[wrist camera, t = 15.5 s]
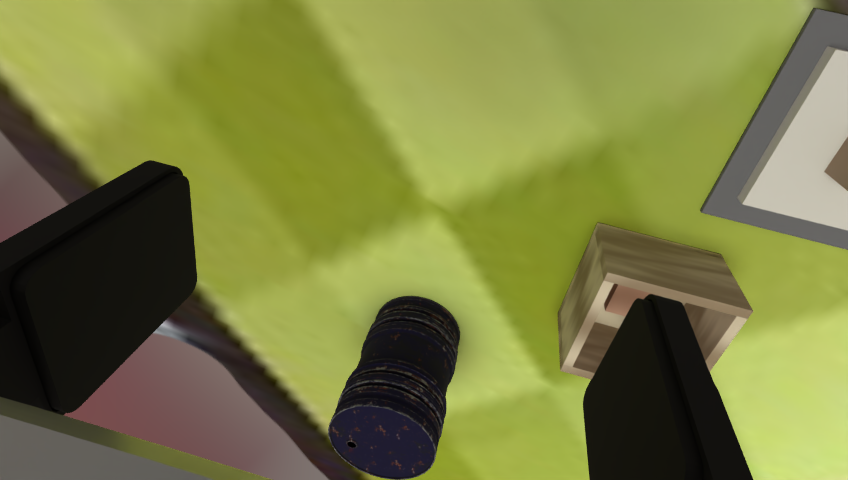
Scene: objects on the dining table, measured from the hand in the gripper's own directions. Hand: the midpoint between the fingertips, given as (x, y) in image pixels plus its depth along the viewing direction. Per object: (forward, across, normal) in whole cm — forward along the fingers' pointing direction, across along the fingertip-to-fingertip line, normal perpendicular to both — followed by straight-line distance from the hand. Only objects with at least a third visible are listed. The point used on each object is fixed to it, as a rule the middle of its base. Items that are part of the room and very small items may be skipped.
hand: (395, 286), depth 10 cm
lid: (+33, -28, +2) cm, 43 cm away
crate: (+33, -18, +19) cm, 42 cm away
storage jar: (+34, +1, +32) cm, 46 cm away
